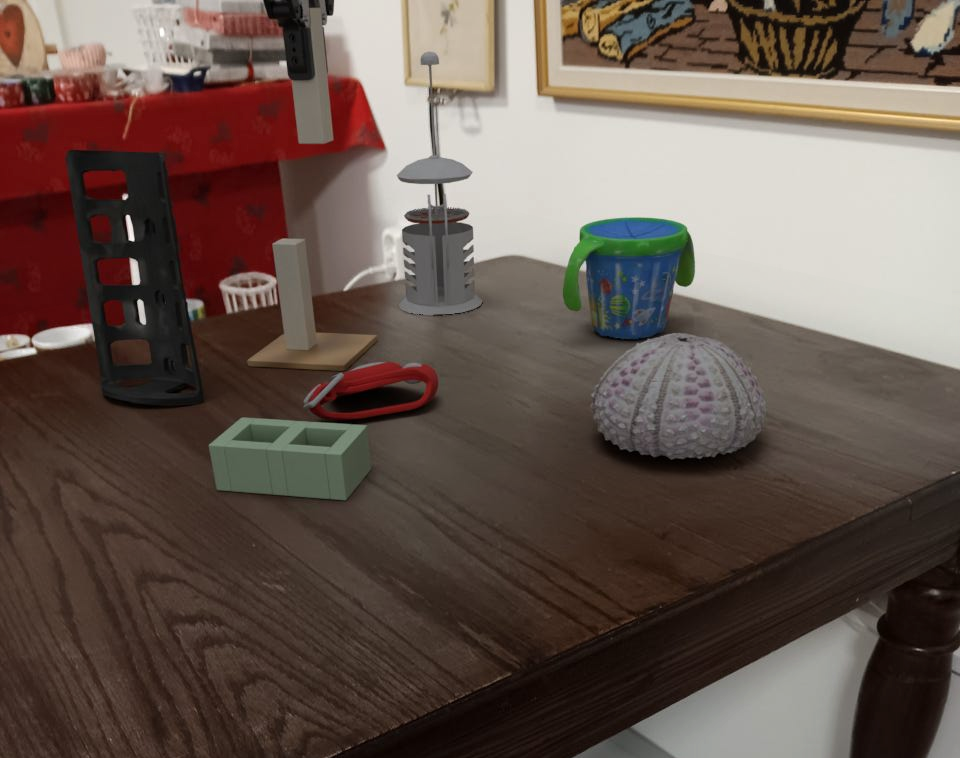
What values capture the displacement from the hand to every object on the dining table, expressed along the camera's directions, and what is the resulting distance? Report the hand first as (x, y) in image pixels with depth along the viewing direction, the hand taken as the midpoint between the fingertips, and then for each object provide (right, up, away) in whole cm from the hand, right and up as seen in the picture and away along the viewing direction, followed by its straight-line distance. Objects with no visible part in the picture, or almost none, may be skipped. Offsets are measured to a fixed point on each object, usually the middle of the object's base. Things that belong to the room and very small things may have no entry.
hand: (308, 77), depth 85 cm
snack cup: (+30, -16, +18) cm, 39 cm away
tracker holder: (+5, -28, +1) cm, 29 cm away
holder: (-15, -26, +6) cm, 30 cm away
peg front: (0, -4, +3) cm, 5 cm away
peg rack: (+1, -36, -11) cm, 38 cm away
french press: (+10, -10, +28) cm, 32 cm away
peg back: (-3, -19, +15) cm, 24 cm away
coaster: (-2, -19, +15) cm, 24 cm away
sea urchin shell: (+30, -33, -7) cm, 45 cm away
